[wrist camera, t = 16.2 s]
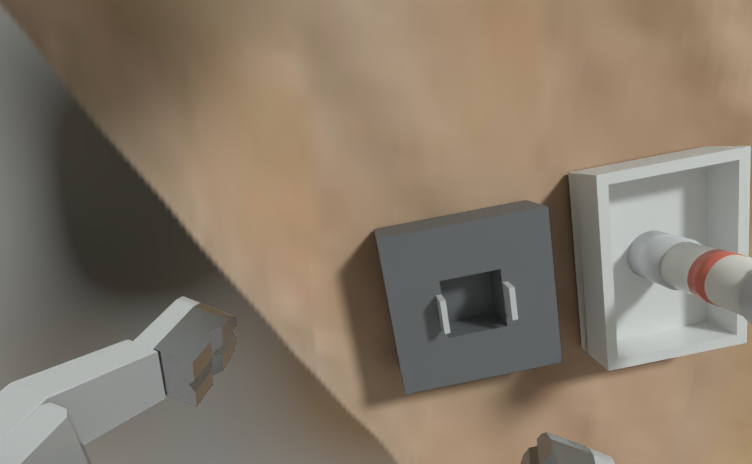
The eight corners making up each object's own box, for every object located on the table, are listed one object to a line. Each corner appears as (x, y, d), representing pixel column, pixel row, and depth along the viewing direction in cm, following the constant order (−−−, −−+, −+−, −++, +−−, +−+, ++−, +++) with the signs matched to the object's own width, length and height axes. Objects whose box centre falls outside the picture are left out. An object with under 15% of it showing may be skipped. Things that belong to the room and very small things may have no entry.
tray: (568, 172, 30) (596, 175, 27) (705, 146, 30) (750, 145, 27) (581, 348, 33) (608, 370, 30) (706, 323, 34) (746, 342, 30)
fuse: (626, 235, 30) (801, 287, 19) (673, 226, 30) (876, 272, 19) (628, 281, 31) (797, 359, 19) (674, 272, 31) (869, 344, 20)
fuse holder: (373, 229, 30) (377, 243, 25) (525, 200, 30) (557, 208, 26) (399, 368, 32) (407, 404, 28) (540, 340, 33) (571, 371, 28)
